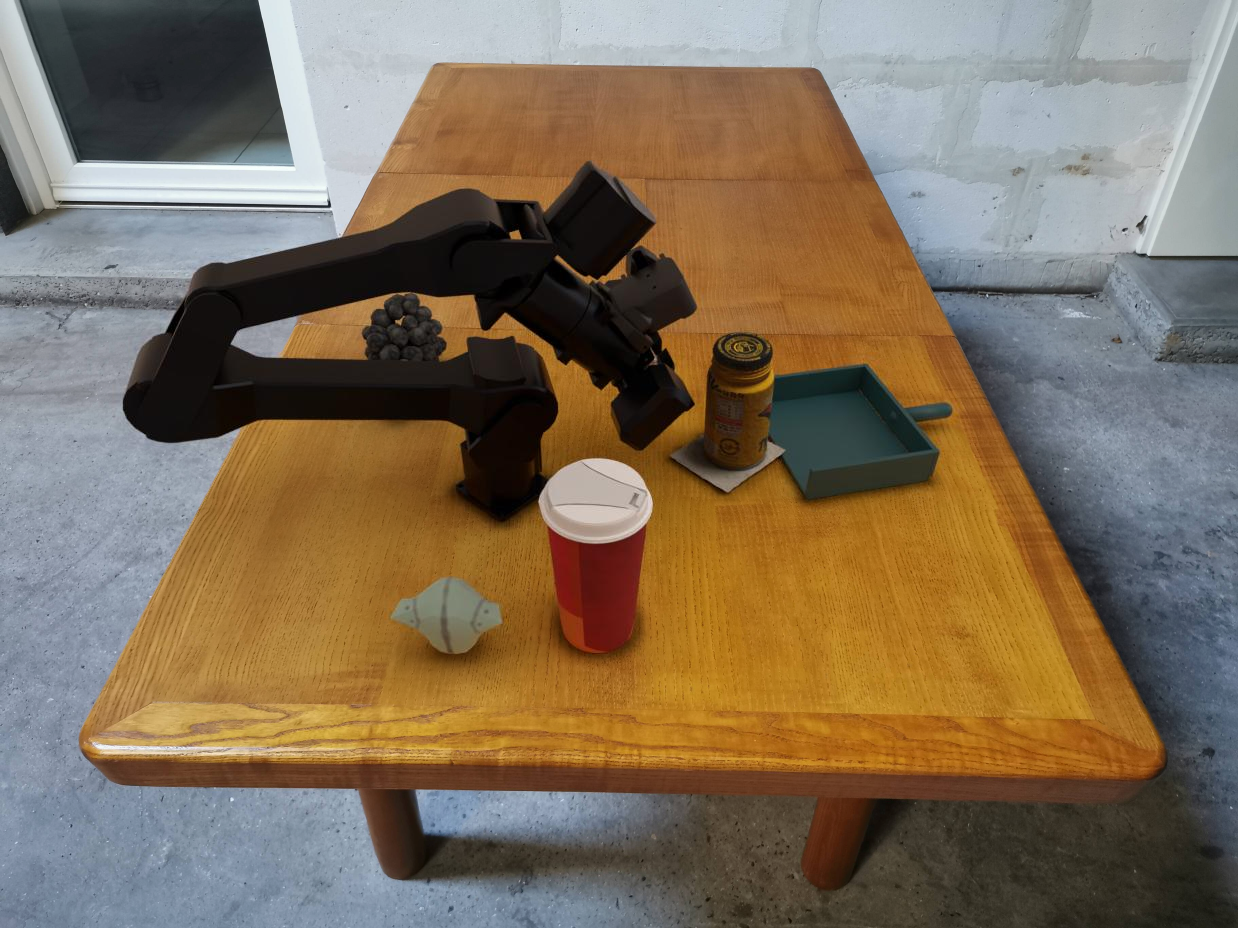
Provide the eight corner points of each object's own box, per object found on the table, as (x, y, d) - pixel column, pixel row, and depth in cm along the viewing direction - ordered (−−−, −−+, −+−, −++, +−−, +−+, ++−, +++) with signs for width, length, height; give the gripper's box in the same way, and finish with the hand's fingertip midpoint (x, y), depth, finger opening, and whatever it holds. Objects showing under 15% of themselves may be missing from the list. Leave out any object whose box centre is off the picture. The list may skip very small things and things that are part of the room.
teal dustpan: (806, 500, 80) (812, 471, 77) (749, 405, 91) (753, 378, 89) (987, 471, 83) (997, 443, 81) (910, 383, 94) (917, 356, 92)
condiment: (785, 451, 84) (798, 345, 77) (727, 494, 80) (735, 385, 72) (727, 419, 88) (734, 315, 81) (669, 458, 84) (670, 352, 76)
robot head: (397, 666, 65) (383, 605, 61) (410, 623, 68) (397, 562, 64) (505, 671, 65) (498, 611, 60) (513, 628, 68) (507, 567, 64)
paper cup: (659, 601, 70) (667, 467, 61) (628, 676, 64) (632, 540, 56) (568, 577, 72) (562, 443, 63) (530, 648, 66) (518, 512, 57)
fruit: (403, 352, 81) (425, 272, 92) (323, 376, 83) (355, 294, 94) (444, 421, 87) (460, 338, 98) (368, 443, 88) (393, 358, 99)
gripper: (670, 297, 61) (798, 405, 70) (608, 191, 75) (722, 293, 84) (561, 404, 64) (697, 494, 73) (522, 284, 78) (640, 372, 87)
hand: (690, 405), depth 79 cm, fingers closed
